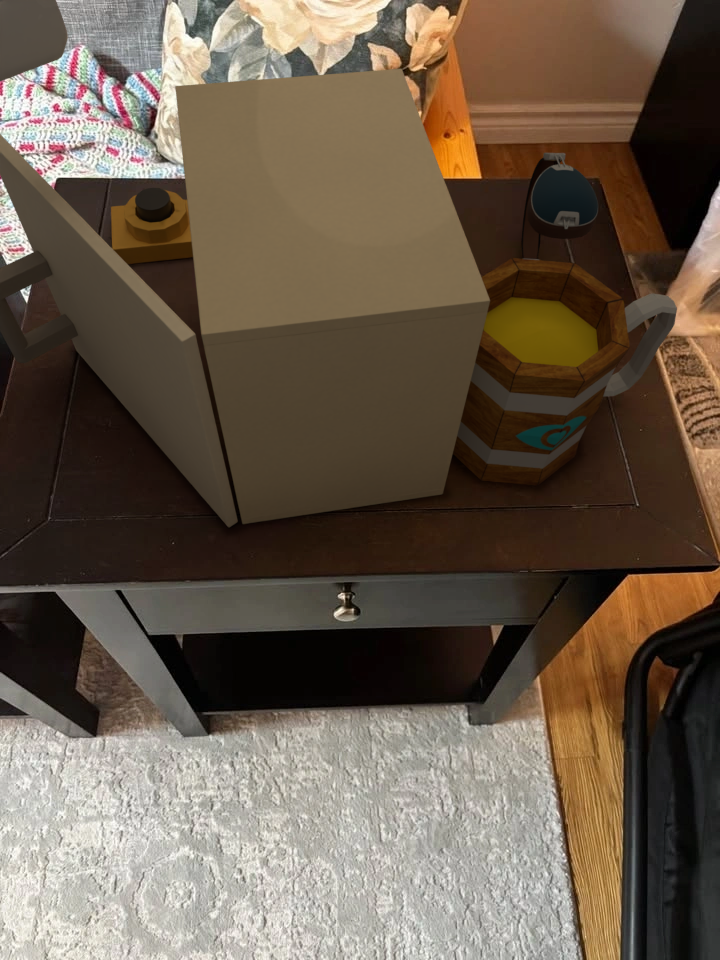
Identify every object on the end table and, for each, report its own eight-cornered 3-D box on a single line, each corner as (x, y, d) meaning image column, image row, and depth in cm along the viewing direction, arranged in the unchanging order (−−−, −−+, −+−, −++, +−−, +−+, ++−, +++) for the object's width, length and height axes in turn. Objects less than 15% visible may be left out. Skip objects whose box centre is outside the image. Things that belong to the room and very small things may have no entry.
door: (171, 567, 63) (95, 390, 43) (22, 379, 73) (-97, 163, 52) (238, 521, 65) (195, 333, 45) (85, 345, 75) (-7, 127, 55)
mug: (468, 503, 67) (500, 401, 54) (417, 389, 74) (435, 273, 61) (662, 452, 71) (735, 344, 58) (597, 347, 77) (649, 229, 64)
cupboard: (242, 524, 65) (201, 334, 45) (216, 308, 78) (175, 85, 58) (442, 494, 67) (490, 300, 47) (384, 289, 81) (401, 68, 60)
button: (139, 225, 80) (135, 211, 78) (137, 202, 81) (134, 189, 80) (173, 221, 80) (170, 208, 78) (171, 199, 82) (168, 185, 80)
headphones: (576, 384, 73) (551, 247, 87) (624, 253, 61) (586, 117, 74) (512, 381, 73) (497, 244, 87) (547, 249, 61) (523, 114, 75)
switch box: (116, 265, 81) (107, 235, 78) (115, 222, 85) (106, 192, 82) (209, 255, 83) (204, 226, 79) (204, 213, 86) (199, 183, 83)
